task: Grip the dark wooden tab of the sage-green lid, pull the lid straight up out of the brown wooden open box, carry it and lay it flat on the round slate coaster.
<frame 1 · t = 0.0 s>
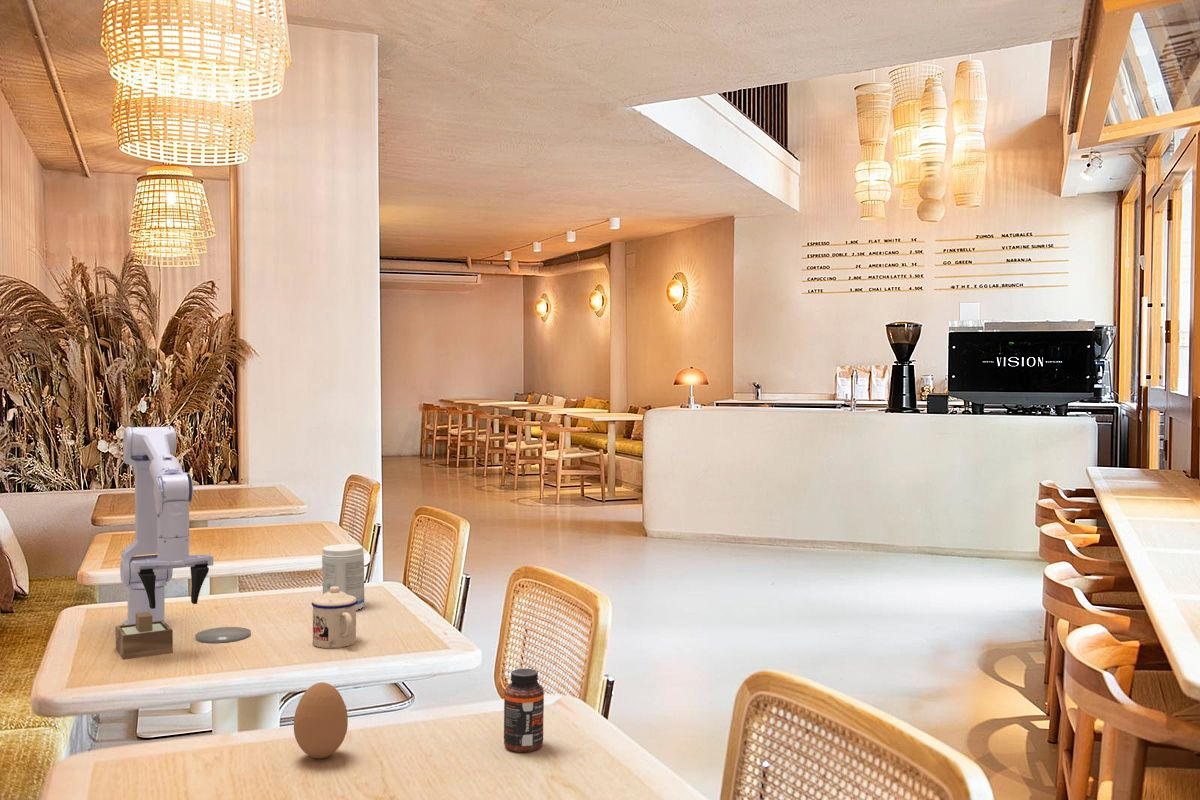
hand: (173, 605, 200), 10 cm above the table, tool pointing down, fingers open, 7 cm apart
brown wooden open box: (144, 650, 204), on the table
lid: (143, 632, 204), point 4 cm above the table, touching brown wooden open box
egg: (320, 758, 149), on the table
teacup with lid: (337, 645, 210), on the table
coaster: (223, 636, 216), on the table
supplement bottle: (523, 747, 154), on the table
supplement tub: (343, 609, 242), on the table
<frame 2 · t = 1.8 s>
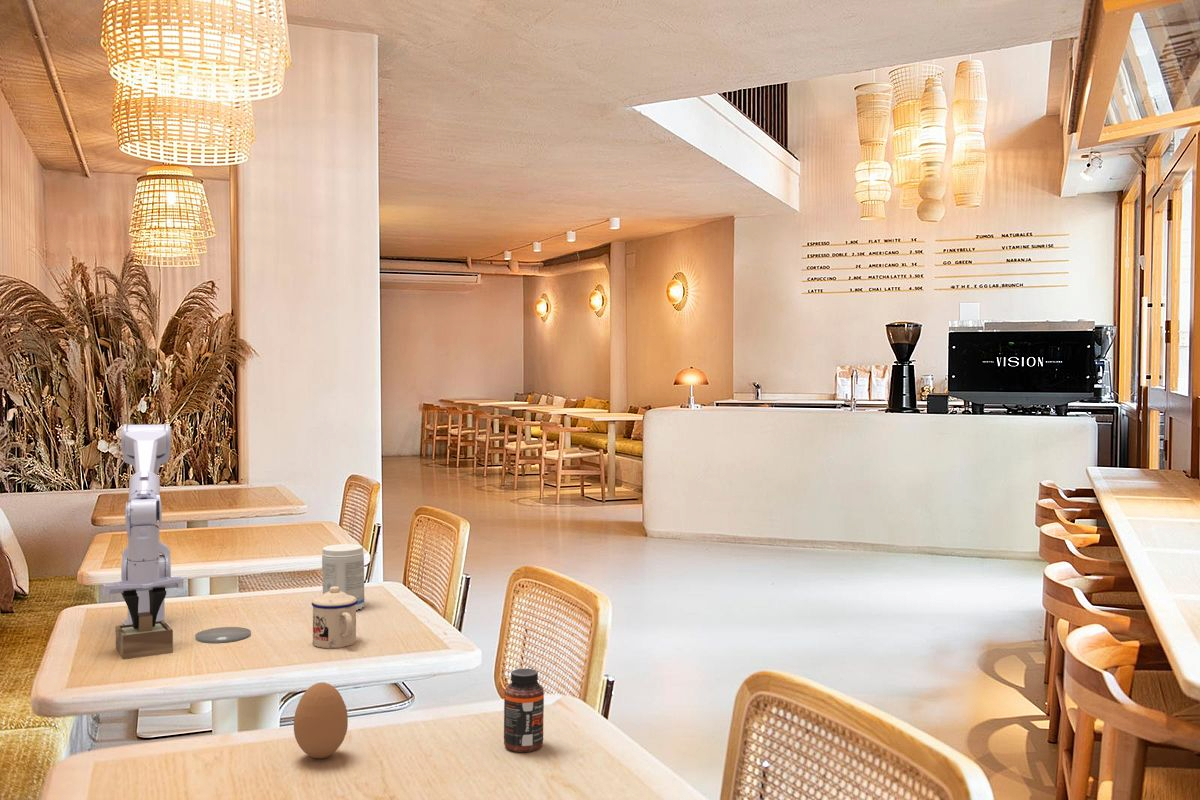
hand: (143, 626, 204), 5 cm above the table, tool pointing down, fingers closed on lid, 2 cm apart
lid: (143, 632, 204), point 4 cm above the table, touching gripper, brown wooden open box
everything else where it was.
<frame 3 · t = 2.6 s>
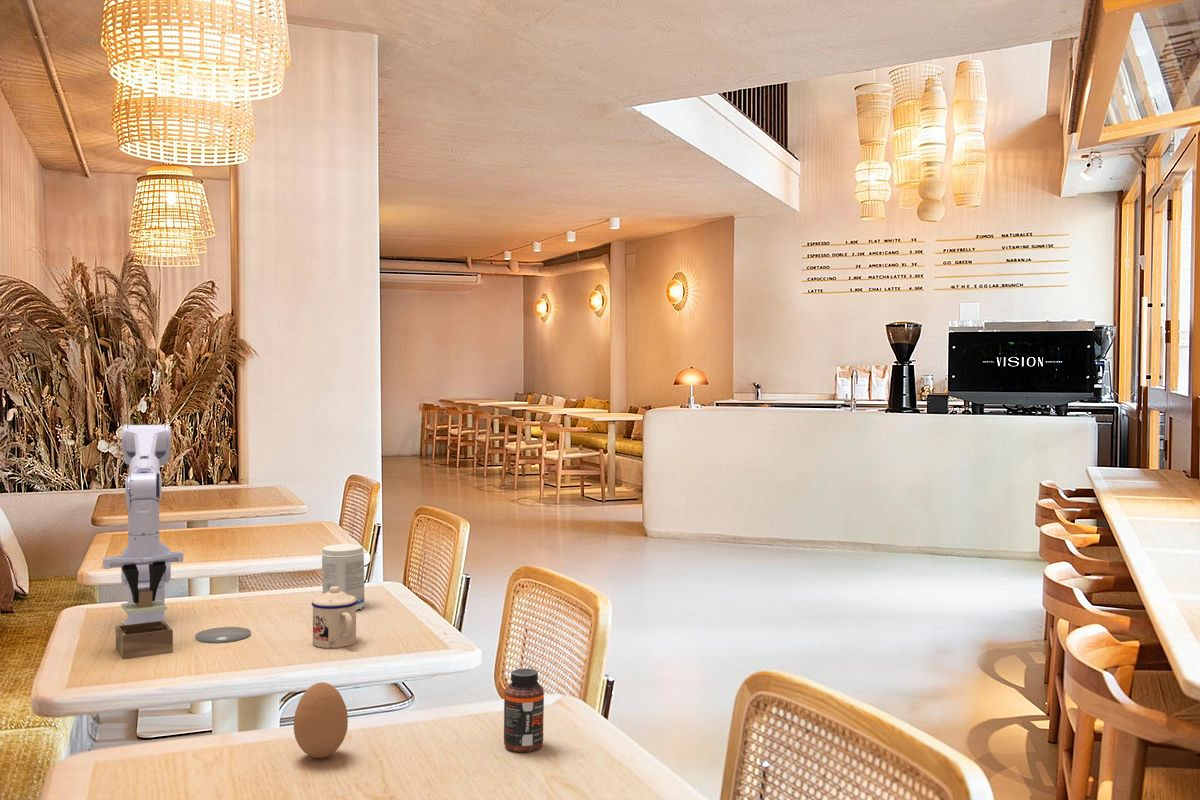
hand: (143, 601, 204), 10 cm above the table, tool pointing down, fingers closed on lid, 2 cm apart
lid: (144, 608, 204), point 8 cm above the table, touching gripper
everything else where it was.
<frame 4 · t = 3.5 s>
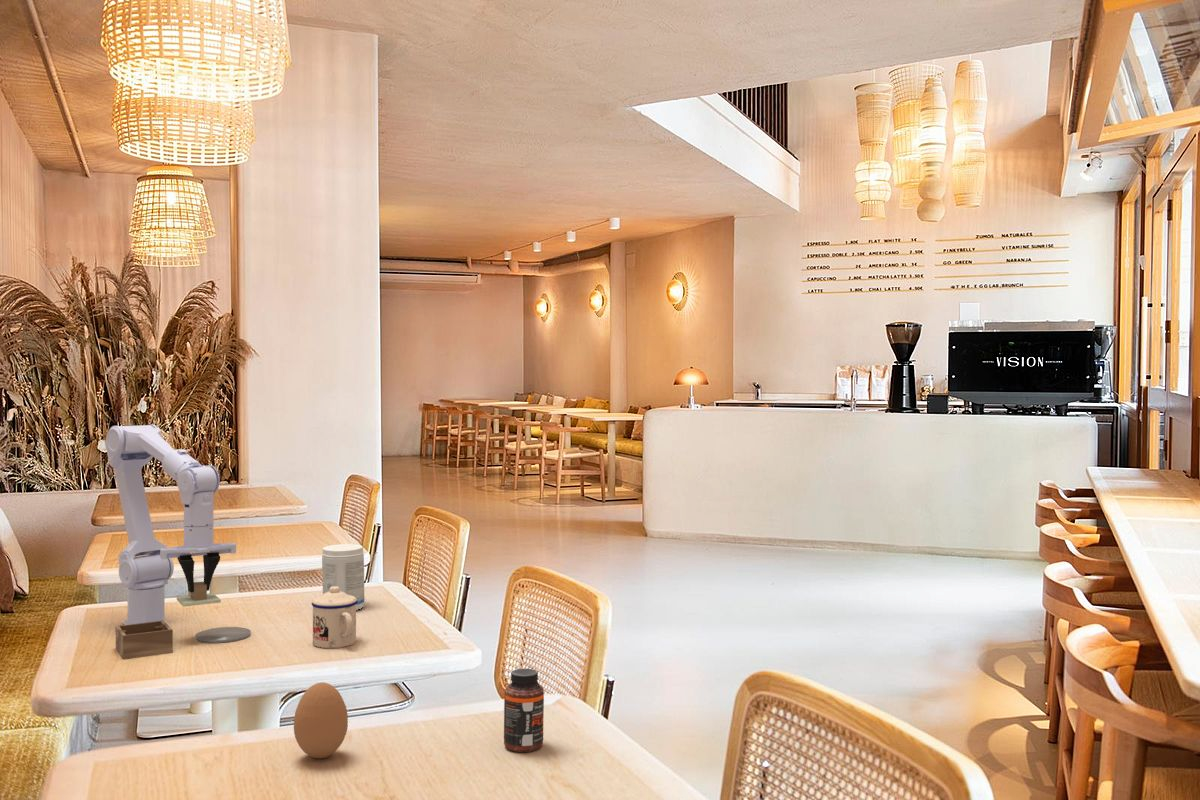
hand: (198, 590, 212), 10 cm above the table, tool pointing down, fingers closed on lid, 2 cm apart
lid: (198, 601, 212), point 8 cm above the table, touching gripper
everything else where it was.
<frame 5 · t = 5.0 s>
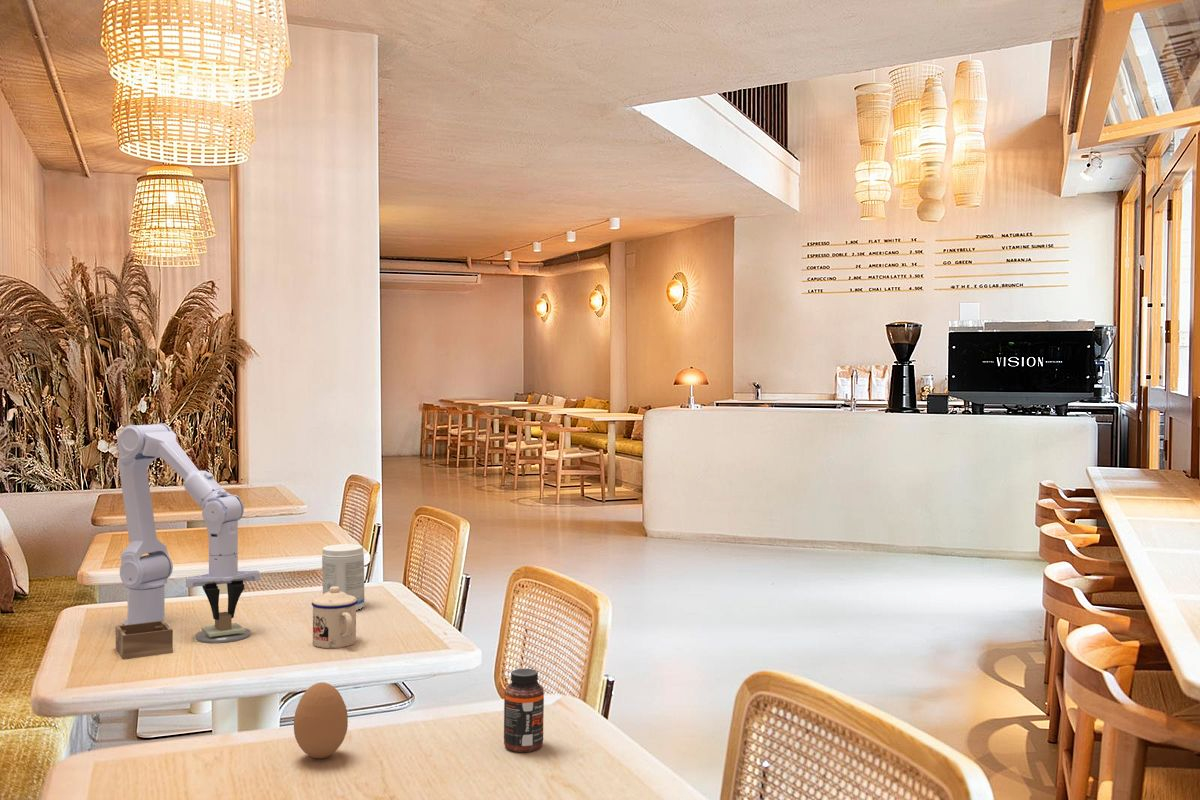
hand: (223, 618, 216), 4 cm above the table, tool pointing down, fingers closed on lid, 2 cm apart
lid: (223, 631, 216), point 1 cm above the table, touching gripper
everything else where it was.
when the fingers open (3 cm above the table, at t = 5.5 s): lid stays where it is, resting on coaster.
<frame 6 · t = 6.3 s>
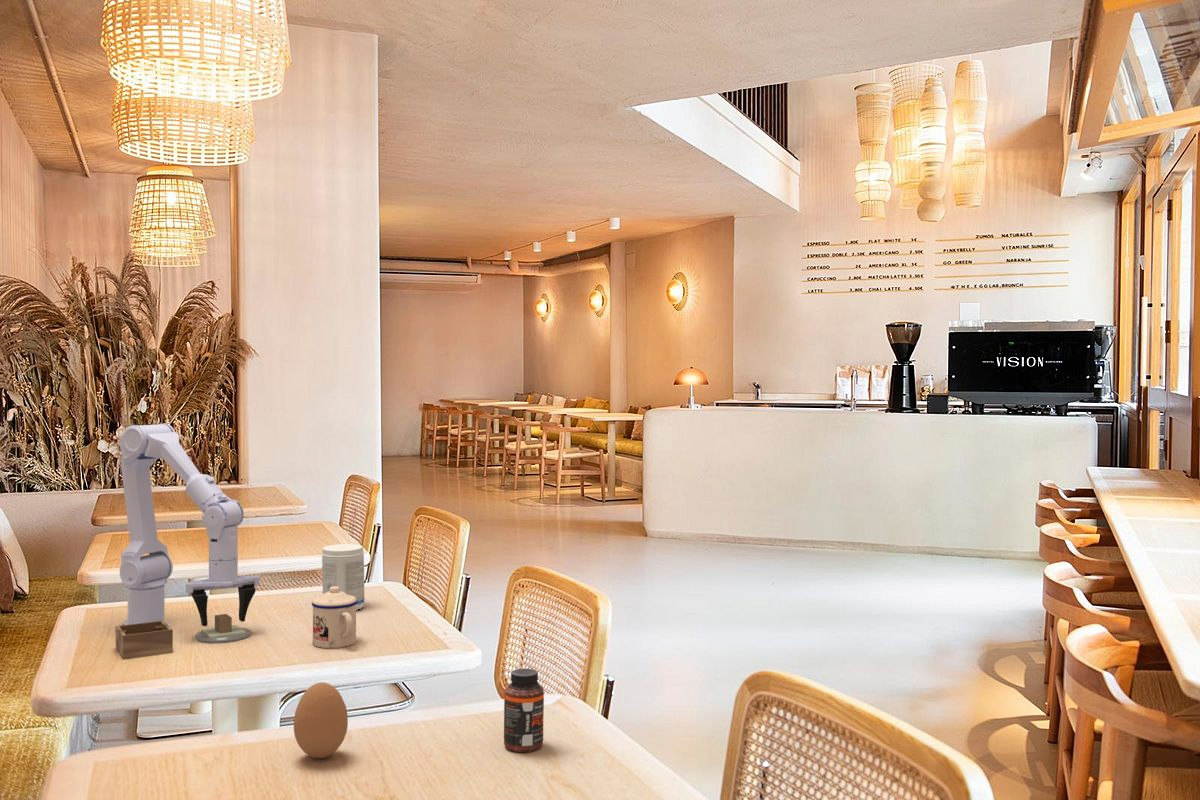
hand: (223, 623, 216), 3 cm above the table, tool pointing down, fingers open, 7 cm apart
lid: (223, 633, 216), point 1 cm above the table, touching coaster
everything else where it was.
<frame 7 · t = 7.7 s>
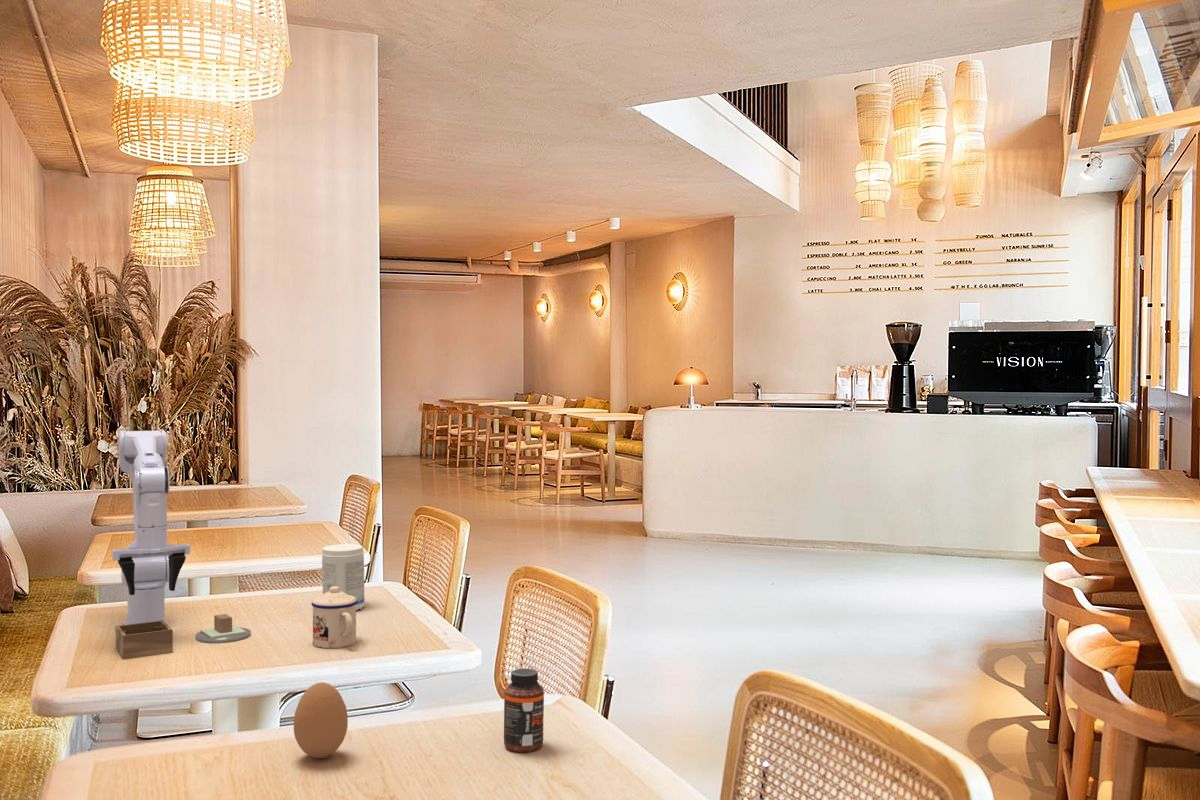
hand: (152, 592, 210), 10 cm above the table, tool pointing down, fingers open, 7 cm apart
nothing on the table moved.
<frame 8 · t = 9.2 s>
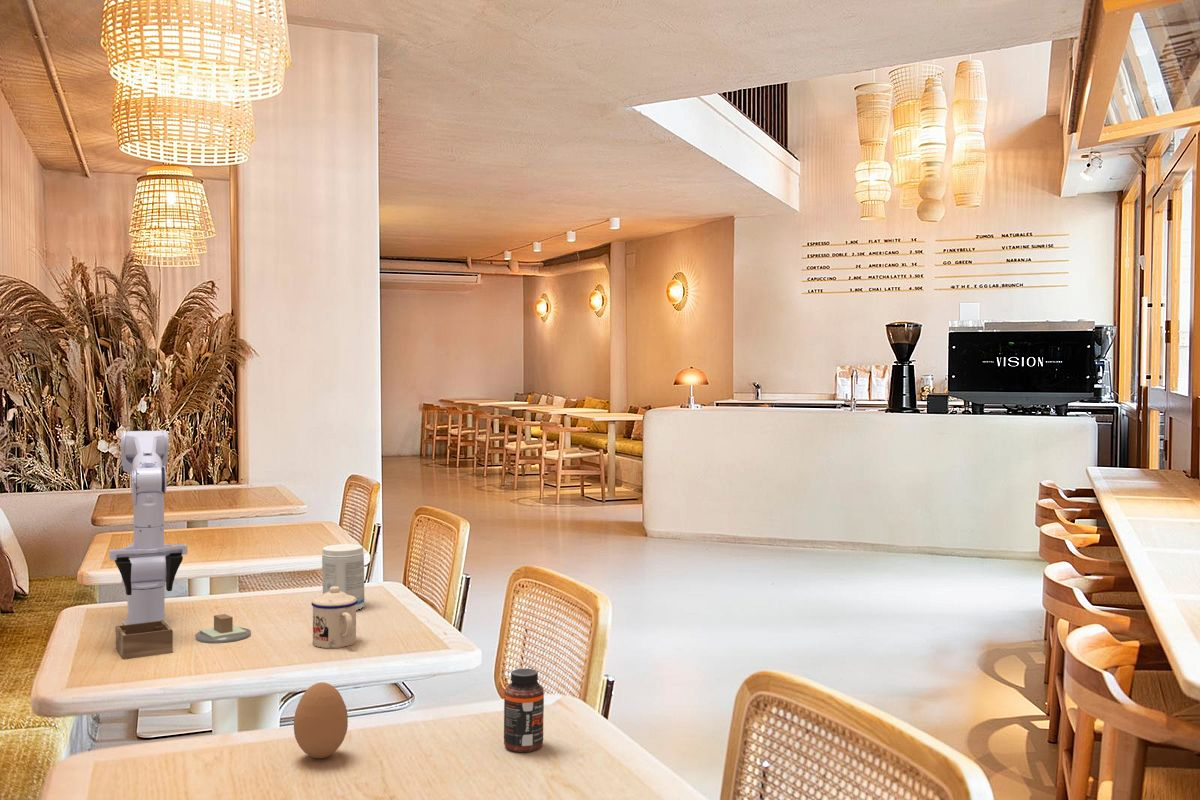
hand: (149, 592, 210), 10 cm above the table, tool pointing down, fingers open, 7 cm apart
nothing on the table moved.
at the end: lid inside the target area on the coaster (0.1 cm from its centre), point 0.6 cm above the coaster's base; lid tilted 0°; the gripper is holding nothing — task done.
